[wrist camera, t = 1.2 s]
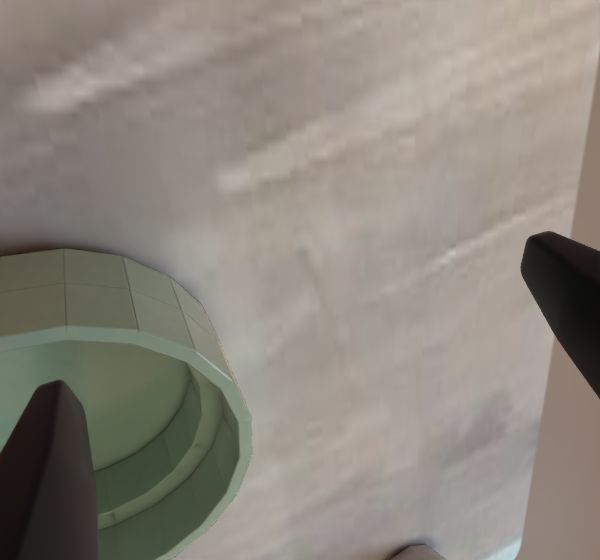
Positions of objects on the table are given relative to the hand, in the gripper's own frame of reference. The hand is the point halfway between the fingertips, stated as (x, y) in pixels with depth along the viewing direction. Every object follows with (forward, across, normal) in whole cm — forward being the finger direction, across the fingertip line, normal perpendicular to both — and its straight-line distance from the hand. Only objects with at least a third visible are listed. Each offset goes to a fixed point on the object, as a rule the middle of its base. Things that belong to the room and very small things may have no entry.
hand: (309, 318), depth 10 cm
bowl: (+11, +10, +12) cm, 19 cm away
